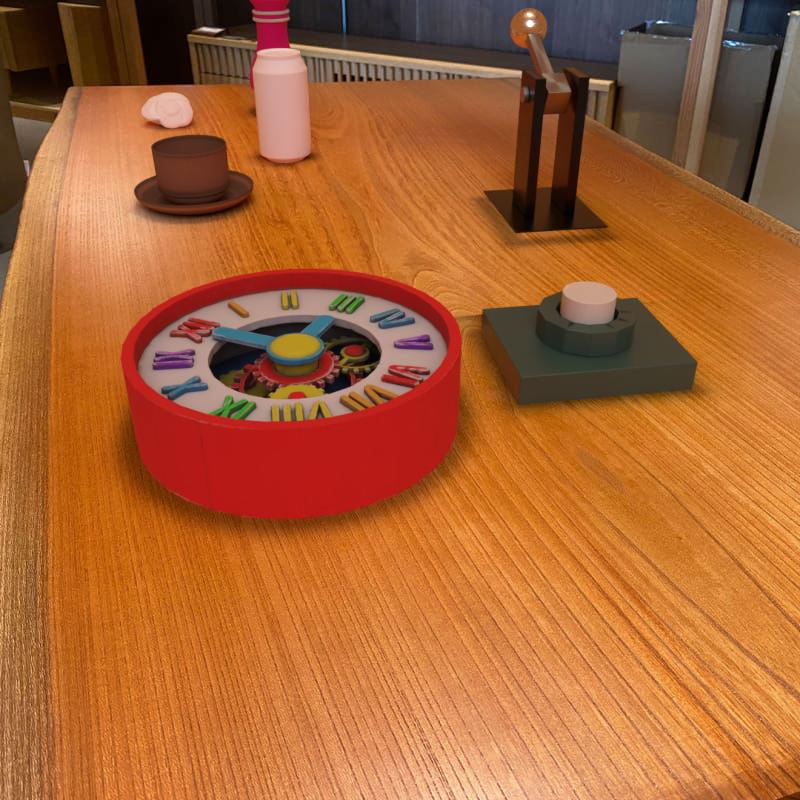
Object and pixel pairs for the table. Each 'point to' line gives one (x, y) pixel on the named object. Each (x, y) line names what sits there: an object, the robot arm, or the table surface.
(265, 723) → the table surface
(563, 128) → the bracket
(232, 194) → the cup and saucer
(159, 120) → the spiral seashell
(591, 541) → the table surface
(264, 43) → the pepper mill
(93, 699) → the table surface
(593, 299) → the button
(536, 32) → the lever
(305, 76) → the beverage can
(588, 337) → the button box
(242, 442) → the toy clock
